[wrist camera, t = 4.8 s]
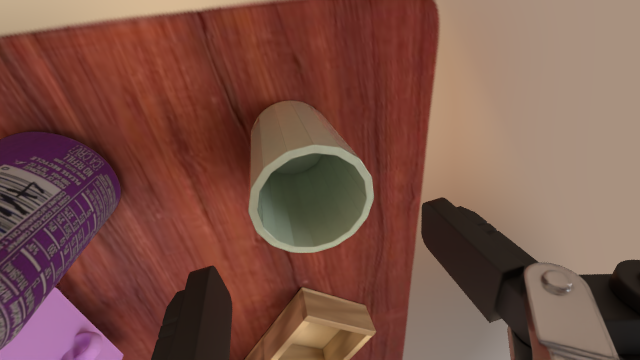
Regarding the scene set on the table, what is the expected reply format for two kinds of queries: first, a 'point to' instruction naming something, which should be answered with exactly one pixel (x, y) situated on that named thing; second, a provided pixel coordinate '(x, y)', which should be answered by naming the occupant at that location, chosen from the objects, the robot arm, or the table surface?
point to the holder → (315, 329)
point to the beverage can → (46, 217)
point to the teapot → (59, 335)
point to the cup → (304, 180)
